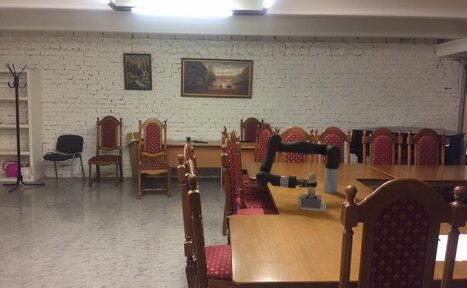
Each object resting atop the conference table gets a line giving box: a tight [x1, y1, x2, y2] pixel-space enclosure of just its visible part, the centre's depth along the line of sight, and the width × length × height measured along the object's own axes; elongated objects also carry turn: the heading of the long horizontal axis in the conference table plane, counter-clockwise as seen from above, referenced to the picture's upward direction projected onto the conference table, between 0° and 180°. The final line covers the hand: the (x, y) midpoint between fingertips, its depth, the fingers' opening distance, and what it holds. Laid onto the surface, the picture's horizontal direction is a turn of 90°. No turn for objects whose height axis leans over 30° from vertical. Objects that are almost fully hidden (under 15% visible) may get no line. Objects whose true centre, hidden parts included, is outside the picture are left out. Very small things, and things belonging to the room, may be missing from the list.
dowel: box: [307, 172, 317, 199], centre depth 218 cm, size 4×4×16 cm
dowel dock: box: [297, 192, 327, 213], centre depth 220 cm, size 14×16×6 cm
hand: (316, 184), depth 217 cm, fingers closed on dowel, 4 cm apart
